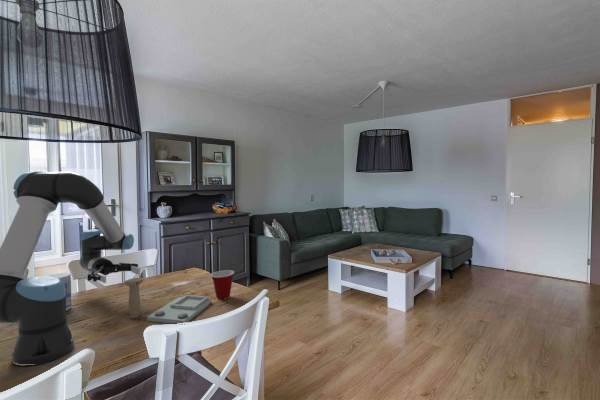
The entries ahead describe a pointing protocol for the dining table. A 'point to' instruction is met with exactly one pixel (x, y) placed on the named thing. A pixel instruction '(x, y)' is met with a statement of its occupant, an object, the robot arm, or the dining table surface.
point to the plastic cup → (222, 283)
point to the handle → (134, 296)
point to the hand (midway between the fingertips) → (122, 275)
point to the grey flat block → (180, 309)
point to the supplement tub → (67, 281)
